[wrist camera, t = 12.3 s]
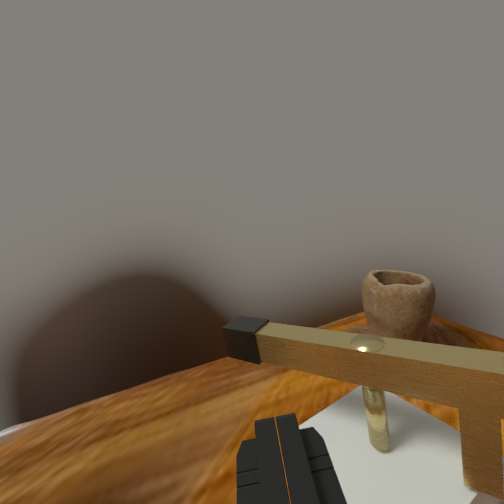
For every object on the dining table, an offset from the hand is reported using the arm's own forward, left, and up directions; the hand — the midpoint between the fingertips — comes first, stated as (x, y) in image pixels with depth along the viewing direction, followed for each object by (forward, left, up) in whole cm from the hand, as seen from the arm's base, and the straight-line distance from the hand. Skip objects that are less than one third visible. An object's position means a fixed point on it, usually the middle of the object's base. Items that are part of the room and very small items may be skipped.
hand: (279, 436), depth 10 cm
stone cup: (-12, +37, -22) cm, 44 cm away
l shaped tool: (-6, +12, -13) cm, 19 cm away
